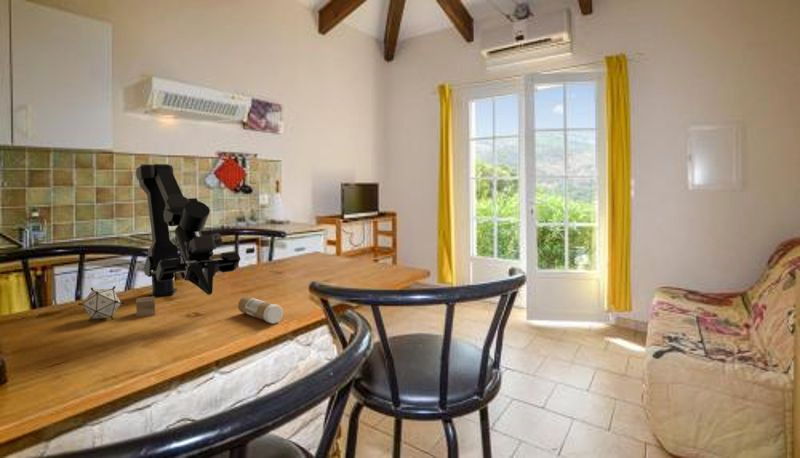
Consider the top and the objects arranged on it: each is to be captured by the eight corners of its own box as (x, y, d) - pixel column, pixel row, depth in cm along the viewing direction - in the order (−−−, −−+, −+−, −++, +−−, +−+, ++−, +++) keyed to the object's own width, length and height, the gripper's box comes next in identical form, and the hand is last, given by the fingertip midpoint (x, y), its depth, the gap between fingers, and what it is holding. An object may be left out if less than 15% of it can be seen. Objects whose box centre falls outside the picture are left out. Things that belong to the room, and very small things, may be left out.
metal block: (137, 313, 108) (136, 298, 108) (155, 310, 110) (154, 296, 110) (136, 317, 105) (136, 302, 104) (155, 315, 107) (154, 300, 106)
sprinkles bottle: (240, 315, 108) (270, 327, 100) (235, 301, 107) (265, 311, 99) (255, 306, 112) (285, 317, 103) (250, 292, 110) (280, 302, 102)
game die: (105, 335, 102) (93, 311, 95) (78, 321, 103) (64, 296, 97) (135, 309, 109) (126, 285, 102) (109, 296, 110) (98, 271, 103)
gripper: (156, 225, 95) (175, 281, 88) (236, 221, 108) (257, 268, 102) (148, 254, 101) (165, 308, 95) (224, 246, 114) (243, 293, 108)
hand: (210, 293), depth 100 cm, fingers closed
